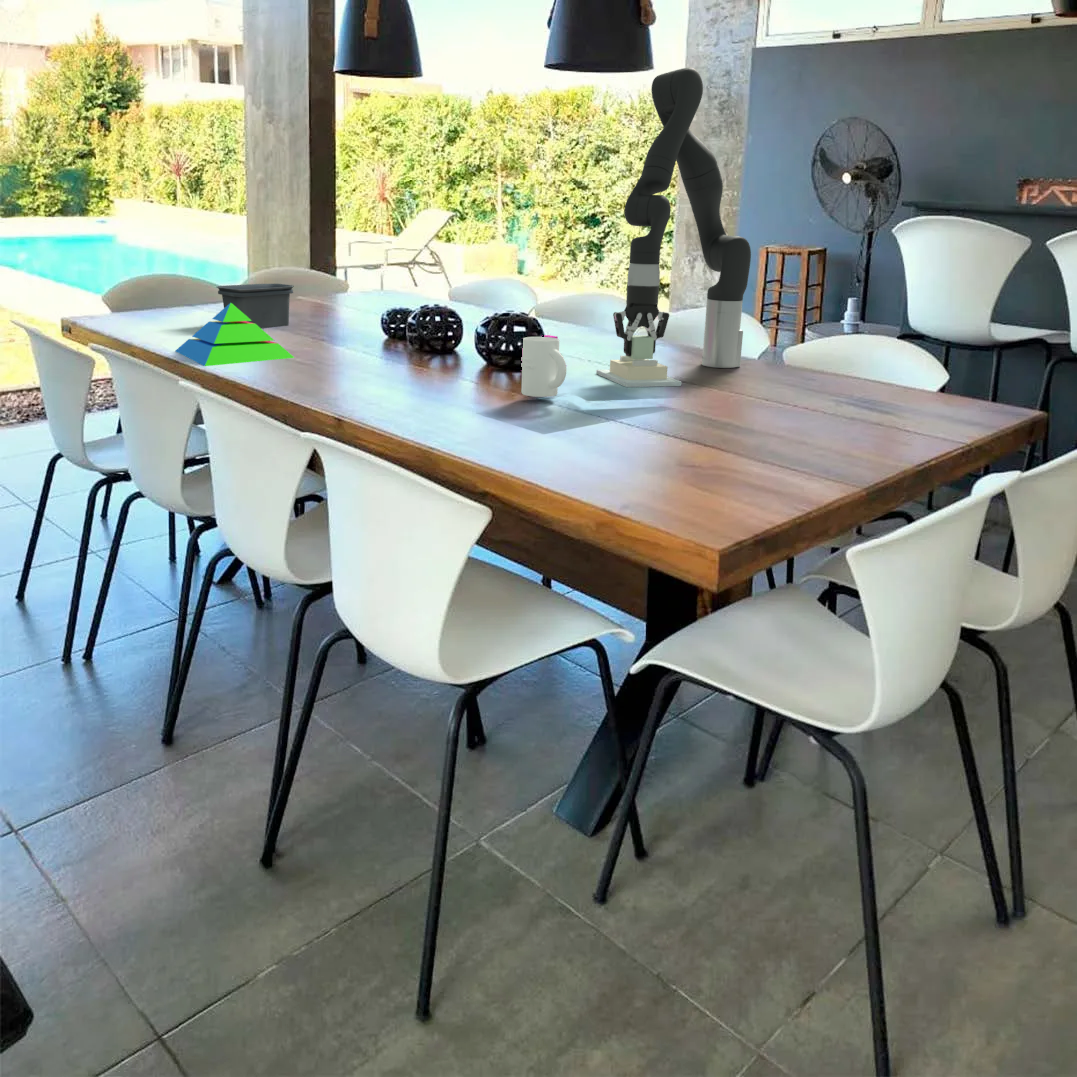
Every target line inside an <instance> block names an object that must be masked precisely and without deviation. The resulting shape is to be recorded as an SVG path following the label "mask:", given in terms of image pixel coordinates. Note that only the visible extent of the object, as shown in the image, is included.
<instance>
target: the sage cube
mask: <svg viewBox="0 0 1077 1077" xmlns="http://www.w3.org/2000/svg"><path fill="white" fill-rule="evenodd" d="M631 341H632V351H631V356H627V357H629V358H632V359H648V360H654V353H653V346H654V338H653V337H650V336H648V334H647V335H646V334H645V335H644V334H640V335H639V334H638V335H636V334H635V335H634V334H633V336H632V339H631Z"/></svg>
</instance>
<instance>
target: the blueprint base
mask: <svg viewBox="0 0 1077 1077" xmlns="http://www.w3.org/2000/svg"><path fill="white" fill-rule="evenodd" d="M658 361H659V360H657V359H632V358H629V357H627V356H626V355H620V359H610V362H609V369H596V370H595V371H596V373H595V374H596V375H598V376H600V377H603V378H605V379H606V380H609V381H611V382H614V383H615V384H619V385H621V386H623V387H625V388H640V387H641V388H642V387H643V388H645V387H647V388H648V387H652V388H653V387H681V386H682V381H680V380H678V379H675V378H673V377H671V376H668V368H669V367H668V366H667V365H664V364H662V363H659V362H658Z"/></svg>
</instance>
